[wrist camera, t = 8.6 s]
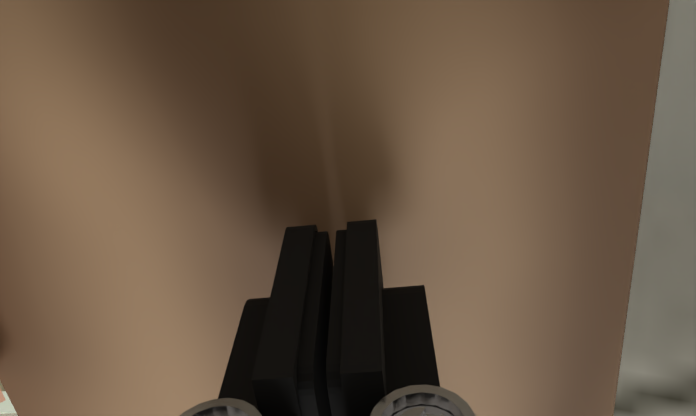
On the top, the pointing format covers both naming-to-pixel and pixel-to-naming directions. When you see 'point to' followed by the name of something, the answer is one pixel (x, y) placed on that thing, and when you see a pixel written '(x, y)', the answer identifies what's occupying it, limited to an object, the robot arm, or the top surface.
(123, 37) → the brown flat block
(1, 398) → the tile
